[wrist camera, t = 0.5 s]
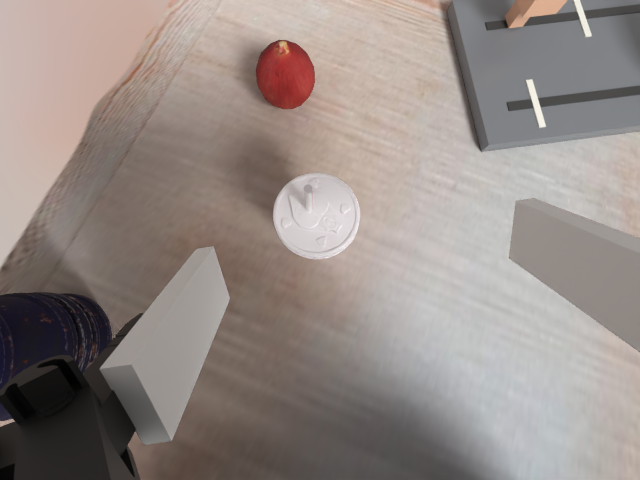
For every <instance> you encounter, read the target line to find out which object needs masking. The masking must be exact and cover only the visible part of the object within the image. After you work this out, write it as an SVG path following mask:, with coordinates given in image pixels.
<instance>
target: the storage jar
mask: <svg viewBox="0 0 640 480" xmlns="http://www.w3.org/2000/svg"><path fill="white" fill-rule="evenodd" d="M111 341H112V333H111V327H110V323H109V320H108V318H107V316H106V314H105V312H104V311H103V310H102V308H101V307H100V306H99V305H98V304H97V303H95V302H94V301H92V300H91V299H89V298H87V297H85V296H81V295H77V294H55V293H45V292H44V293H42V292H38V293H36V292H35V293H13V294H5V295H0V390H1V388H2V387H3V386H4V385H5V384H6V383H7V382H8V381H9V380H10V379H12V378H13V377H15V376H16V375H17V374H19V373H20V372H21V371H23V370H25V369H26V368H28V367H30V366H32V365H34V364H36V363H37V362H40V361H42V360H45V359H47V358H50V357H54V356H59V355H70V356H71V357H72V358H73V359H74V361H75V362H76V364H77V366H78V367H79V369H80V370H81V372H82V374H84V372H85V371H86V370H87V369H88V368H89V367H90V365H91V364H92V363H93V362H94V361H95V360H96V358H97V357H98V356H99V355H100V354H101V352H102V351H103V350H104V349H105V348H107V347H108V346H107V345H108V344H109V343H110V342H111ZM9 419H13V418H12V417H11V415H10V414H9V413H8V412H7V410H6V409H5V408H4V407H3V406H2V404H1V403H0V421H5V420H9Z"/></svg>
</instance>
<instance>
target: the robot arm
mask: <svg viewBox="0 0 640 480" xmlns="http://www.w3.org/2000/svg"><path fill="white" fill-rule="evenodd" d="M509 259H511V260H512V261H514V262H515V263H516V264H518V265H519V266H521V267H522V268H523V269H525V270H526V271H528V272H529V273H530V274H532V275H533V276H534V277H536V278H537V279H539V280H540V281H541V282H543V283H544V284H546V285H547V286H548V287H550V288H551V289H553V290H554V291H555V292H557V293H558V294H559V295H561V296H562V297H564V298H565V299H566V300H568V301H569V302H571V303H572V304H573V305H575V306H576V307H578V308H579V309H580V310H582V311H583V312H585V313H586V314H587V315H589V316H590V317H591V318H593V319H594V320H596V321H597V322H598V323H600V324H601V325H603V326H604V327H605V328H607V329H608V330H610V331H611V332H612V333H614V334H615V335H616V336H618V337H619V338H621V339H622V340H623V341H625V342H626V343H628V344H629V345H630V346H632V347H633V348H635V349H636V350H637V351H639V352H640V238H638V237H635V236H632V235H630V234H627V233H624V232H622V231H619V230H616V229H614V228H611V227H608V226H606V225H603V224H601V223H598V222H595V221H593V220H590V219H587V218H585V217H582V216H579V215H577V214H574V213H571V212H569V211H566V210H563V209H561V208H558V207H556V206H553V205H550V204H548V203H545V202H542V201H540V200H537V199H534V198H532V199H525V200H519V201H516V203H515V211H514V219H513V228H512V236H511V244H510V253H509ZM229 300H230V297H229V294H228V291H227V287H226V284H225V281H224V278H223V275H222V272H221V268H220V265H219V262H218V259H217V256H216V252H215V249H214V246H211V247H205V248H198V249H196V250H195V251H194V252H193V253H192V255H191V256H190V257H189V258H188V260H187V261H186V262H185V263H184V265H183V266H182V267H181V268H180V270H179V271H178V272H177V273H176V274H175V276H174V277H173V278H172V279H171V281H170V282H169V283H168V284H167V286H166V287H165V288H164V289H163V291H162V292H161V293H160V294H159V296H158V297H157V298H156V299H155V300H154V302H153V303H152V304H151V305H150V307H149V308H148V309H147V310H146V312H145V313H141V314H139V315H137V316H136V317H135V318H133V319H132V320H131V321H129V322H128V323H127V324H125V326H124V327H123V328H122V329H121V330H120V331H119V333H118V334H117V335H116V338H113V340H112V341H111V342H110V343H109V344H108V345H107V346H108V347H107V348H105V349H104V350H103V351H102V352H101V354H100V355H99V356H98V357H97V358H96V360H95V361H94V362H93V363H92V364H91V365H90V367H89V368H88V369H87V370H86V371H85V372H84V374H82V372H81V370H80V369H79V367H78V366H77V364H76V362H75V361H74V359H73V358H72V357H71V356H70V355H59V356H54V357H50V358H47V359H45V360H42V361H40V362H37V363H36V364H34V365H32V366H30V367H28V368H26V369H25V370H23V371H21V372H20V373H19V374H17V375H16V376H15V377H13V378H12V379H10V380H9V381H8V382H7V383H6V384H5V385H4V386H3V387H2V388H1V390H0V403H1V404H2V406H3V407H4V408H5V409H6V410H7V412H8V413H9V414H10V415H11V417H12V418H13V419H14V420H15V422H12V423H10V424H7V425H4V426H2V427H0V480H140V477H139V474H138V471H137V467H136V464H135V461H134V458H133V455H132V452H131V451H130V449H129V448H128V446H127V445H128V443H129V441H130V440H131V438H132V436H133V434H134V432H135V431H136V432H137V434H138V436H139V438H140V439H141V441H142V443H143V444H144V445H148V444H155V443H162V442H169V441H172V440H173V437H174V435H175V432H176V430H177V427H178V425H179V423H180V420H181V418H182V415H183V413H184V410H185V408H186V405H187V403H188V401H189V398H190V396H191V393H192V391H193V388H194V386H195V383H196V381H197V379H198V376H199V374H200V371H201V369H202V366H203V364H204V361H205V359H206V357H207V354H208V352H209V349H210V347H211V344H212V342H213V339H214V337H215V335H216V332H217V330H218V327H219V325H220V322H221V320H222V317H223V315H224V313H225V310H226V308H227V305H228V303H229Z"/></svg>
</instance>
